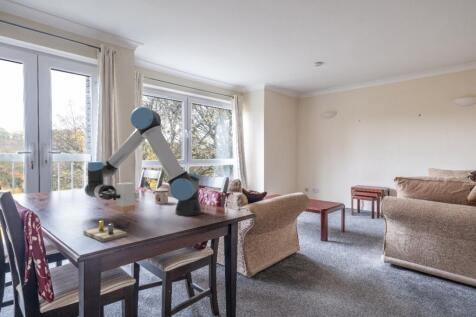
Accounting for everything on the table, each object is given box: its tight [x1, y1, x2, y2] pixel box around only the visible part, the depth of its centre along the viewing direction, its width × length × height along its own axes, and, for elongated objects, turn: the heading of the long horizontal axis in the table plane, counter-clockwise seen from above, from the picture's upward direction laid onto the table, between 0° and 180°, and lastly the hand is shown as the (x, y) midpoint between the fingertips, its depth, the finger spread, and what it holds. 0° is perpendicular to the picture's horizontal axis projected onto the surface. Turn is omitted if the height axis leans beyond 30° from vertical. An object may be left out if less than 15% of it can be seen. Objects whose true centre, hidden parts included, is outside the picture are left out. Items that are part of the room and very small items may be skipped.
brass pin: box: [98, 220, 105, 231], centre depth 119 cm, size 2×2×4 cm
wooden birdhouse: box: [154, 185, 169, 205], centre depth 188 cm, size 12×9×12 cm
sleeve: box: [115, 181, 136, 213], centre depth 132 cm, size 6×6×13 cm
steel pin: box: [107, 222, 114, 234], centre depth 114 cm, size 2×2×4 cm
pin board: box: [83, 225, 127, 243], centre depth 117 cm, size 16×10×2 cm, turn 55°
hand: (131, 196), depth 129 cm, fingers closed on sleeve, 6 cm apart
